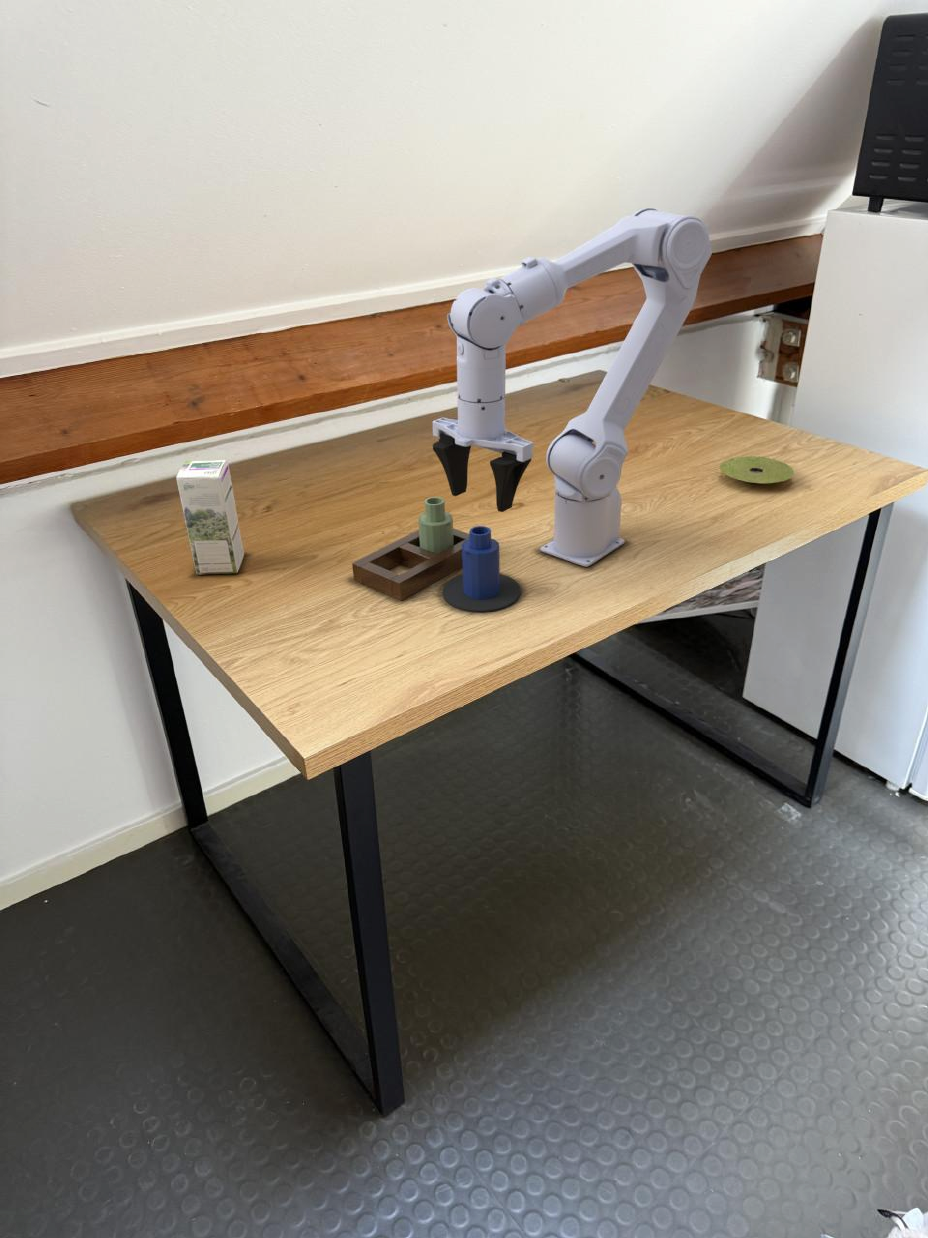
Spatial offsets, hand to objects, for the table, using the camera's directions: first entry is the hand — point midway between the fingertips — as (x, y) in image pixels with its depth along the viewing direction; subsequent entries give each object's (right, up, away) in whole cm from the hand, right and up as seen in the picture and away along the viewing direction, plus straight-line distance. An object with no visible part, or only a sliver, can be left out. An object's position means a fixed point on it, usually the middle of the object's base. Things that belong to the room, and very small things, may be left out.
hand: (481, 501), depth 115 cm
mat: (+44, +7, +29) cm, 53 cm away
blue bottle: (0, -11, +1) cm, 11 cm away
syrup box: (-36, -8, +10) cm, 38 cm away
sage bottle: (-6, -7, +10) cm, 13 cm away
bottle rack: (-8, -8, +7) cm, 14 cm away
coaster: (0, -12, +1) cm, 12 cm away
